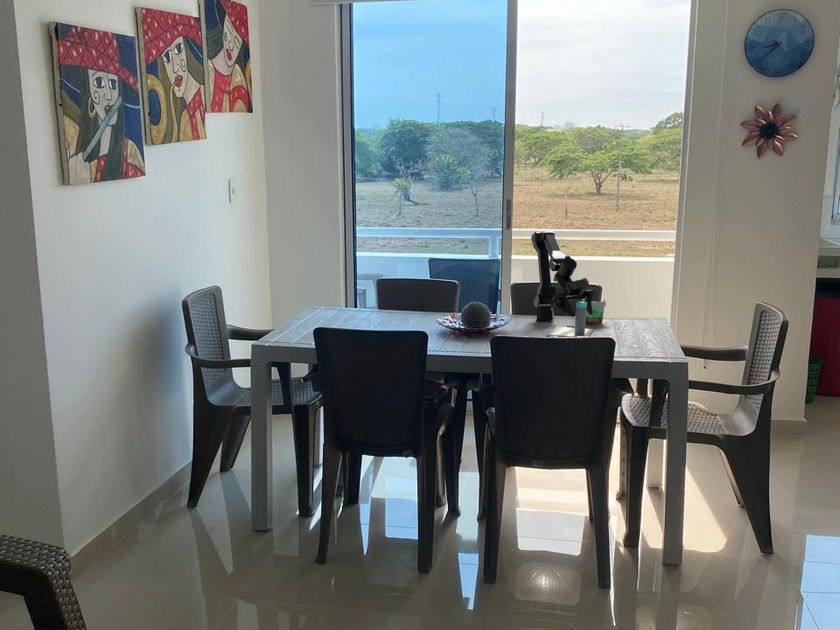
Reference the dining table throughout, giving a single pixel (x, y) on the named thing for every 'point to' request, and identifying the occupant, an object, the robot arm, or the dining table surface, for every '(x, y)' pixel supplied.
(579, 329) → the marker
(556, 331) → the clipboard
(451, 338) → the dining table surface
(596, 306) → the food container
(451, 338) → the dining table surface
